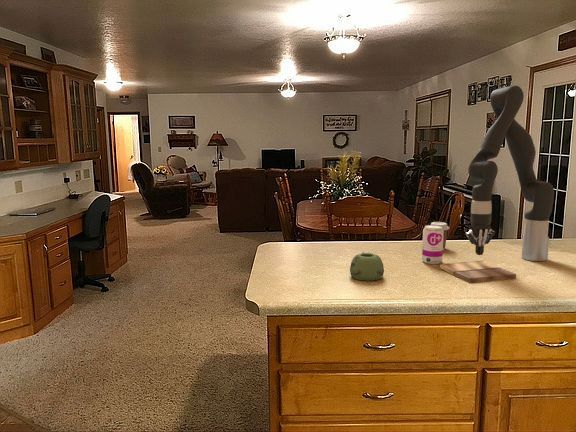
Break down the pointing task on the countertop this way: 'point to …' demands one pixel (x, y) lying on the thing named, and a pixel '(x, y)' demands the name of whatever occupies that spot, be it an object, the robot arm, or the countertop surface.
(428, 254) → the supplement can
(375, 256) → the green rounded vase
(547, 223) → the robot arm
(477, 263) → the oak plank
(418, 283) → the countertop surface
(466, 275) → the walnut board
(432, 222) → the coffee cup
